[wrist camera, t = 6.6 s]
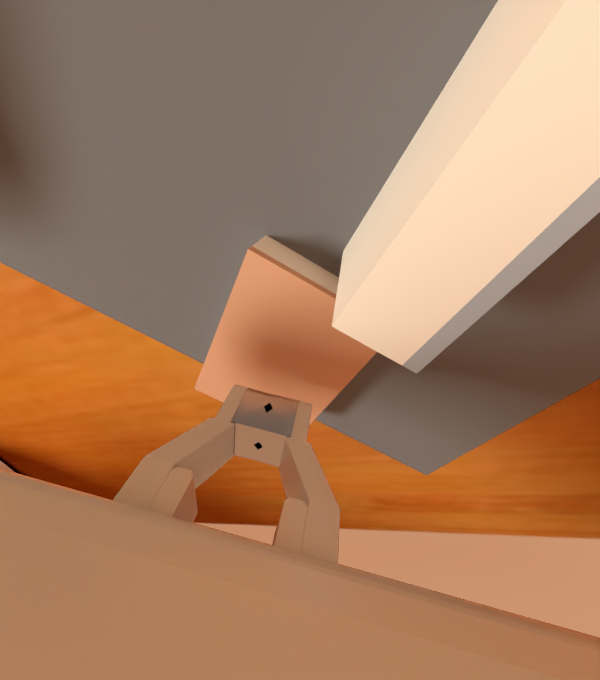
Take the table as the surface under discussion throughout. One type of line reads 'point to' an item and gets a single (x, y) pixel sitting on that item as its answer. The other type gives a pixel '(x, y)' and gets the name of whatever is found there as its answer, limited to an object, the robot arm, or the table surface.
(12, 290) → the table surface
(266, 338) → the peach flat block
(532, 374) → the mat
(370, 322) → the light grey flat block
